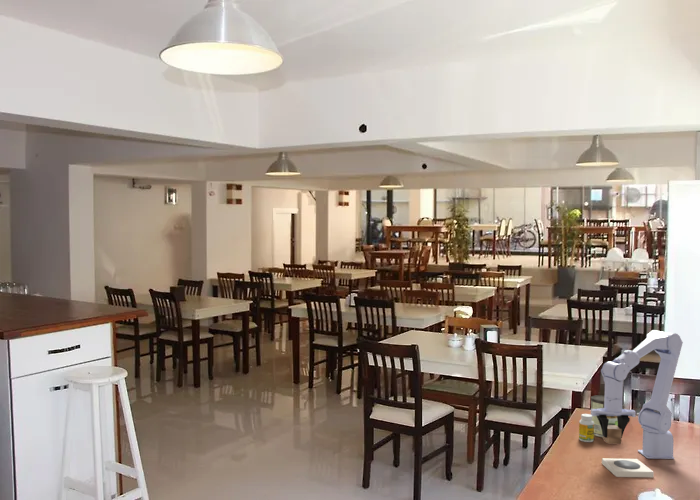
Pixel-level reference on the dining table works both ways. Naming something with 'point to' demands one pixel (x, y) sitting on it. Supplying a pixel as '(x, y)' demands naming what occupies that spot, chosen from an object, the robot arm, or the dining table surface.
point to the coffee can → (596, 403)
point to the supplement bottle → (586, 428)
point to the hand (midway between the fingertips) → (612, 436)
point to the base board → (627, 467)
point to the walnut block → (613, 435)
